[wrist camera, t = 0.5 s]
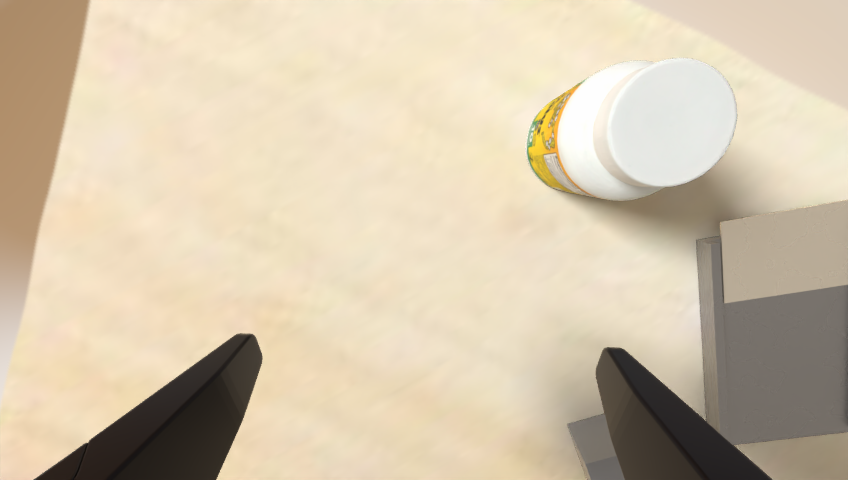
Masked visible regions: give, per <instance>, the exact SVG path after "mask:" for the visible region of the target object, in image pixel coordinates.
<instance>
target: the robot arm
mask: <svg viewBox="0 0 848 480" xmlns="http://www.w3.org/2000/svg"><path fill="white" fill-rule="evenodd" d="M261 364H262V353H261V350H260V347H259V345H258V342H257V339H256V337H255V336H254V335H253V334H243V333H240V334H236V335H235V336H233V337H232V338H230V339H229V340H228V341H226V342H225V343H224V344H222V345H221V346H219V347H218V348H217V349H215V350H214V351H212V352H211V353H210V354H208V355H207V356H206V357H204V358H203V359H201V360H200V361H199V362H197V363H196V364H194V365H193V366H192V367H190V368H189V369H187V370H186V371H185V372H183V373H182V374H181V375H179V376H178V377H176V378H175V379H174V380H172V381H171V382H169V383H168V384H167V385H165V386H164V387H163V388H161V389H160V390H158V391H157V392H156V393H154V394H153V395H151V396H150V397H149V398H147V399H146V400H145V401H143V402H142V403H140V404H139V405H138V406H136V407H135V408H133V409H132V410H131V411H129V412H128V413H126V414H125V415H124V416H122V417H121V418H120V419H118V420H117V421H115V422H114V423H113V424H111V425H110V426H108V427H107V428H106V429H104V430H103V431H102V432H100V433H99V434H97V435H96V436H95V437H93V438H92V439H90V440H89V442H88V443H85V444H83V445H82V446H81V447H79V448H78V449H76V450H75V451H74V452H72V453H71V454H69V455H68V456H67V457H65V458H64V459H62V460H61V461H60V462H58V463H57V464H55V465H54V466H52V467H51V468H50V469H48V470H47V471H45V472H44V473H42V474H41V475H40V476H38V477H37V478H35V479H34V480H216V479H217V477H218V474H219V472H220V470H221V468H222V465H223V463H224V461H225V459H226V457H227V454H228V452H229V450H230V448H231V445H232V443H233V441H234V439H235V436H236V434H237V432H238V430H239V427H240V425H241V423H242V420H243V418H244V415H245V412H246V409H247V406H248V403H249V400H250V397H251V394H252V391H253V388H254V385H255V382H256V379H257V376H258V373H259V370H260V367H261ZM596 379H597V384H598V388H599V392H600V396H601V400H602V405H603V409H604V413H605V417H606V422H607V426H608V430H609V434H610V438H611V441H612V444H613V447H614V450H615V453H616V456H617V459H618V462H619V465H620V467H621V470H622V473H623V476H624V479H625V480H772V479H771V478H770V477H769V476H768V475H767V474H766V473H764V472H763V471H762V470H761V469H760V468H759V467H758V466H756V465H755V464H754V463H753V462H752V461H751V460H750V459H748V458H747V457H746V456H745V455H744V454H743V453H742V452H740V451H739V450H738V449H737V448H736V447H735V446H734V445H732V444H731V443H730V442H729V441H728V440H727V439H726V438H725V437H723V436H722V435H721V434H720V433H719V432H718V431H717V430H715V429H714V428H713V427H712V426H711V425H710V424H709V423H707V422H706V421H705V420H704V419H703V418H702V417H701V416H699V415H698V414H697V413H696V412H695V411H694V410H693V409H691V408H690V407H689V406H688V405H687V404H686V403H685V402H683V401H682V400H681V399H680V398H679V397H678V396H677V395H676V394H674V393H673V392H672V391H671V390H670V389H669V388H668V387H666V386H665V385H664V384H663V383H662V382H661V381H660V380H658V379H657V378H656V377H655V376H654V375H653V374H652V373H650V372H649V371H648V370H647V369H646V368H645V367H644V366H642V365H641V364H640V363H639V362H638V361H637V360H636V359H634V358H633V357H632V356H631V355H630V354H629V353H628V352H627V351H625V350H624V349H622V348H614V347H606V348H604V349H603V351H602V354H601V356H600V359H599V362H598V365H597V367H596Z"/></svg>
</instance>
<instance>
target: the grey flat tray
mask: <svg viewBox="0 0 848 480" xmlns="http://www.w3.org/2000/svg"><path fill="white" fill-rule="evenodd" d="M696 244H697V261H698V279H699V296H700V314H701V332H702V349H703V367H704V384H705V402H706V419H707V423H709V424H710V425H711V426H712V427H713V428H714V429H715V430H717V431H718V432H719V433H720V434H721V435H722V436H723V437H725V438H726V439H727V440H728V441H729V442H730V443H731V444H732V445H737V444H746V443H755V442H764V441H772V440H781V439H790V438H799V437H807V436H816V435H825V434H834V433H843V432H848V200H842V201H836V202H831V203H825V204H819V205H813V206H808V207H802V208H796V209H790V210H785V211H779V212H773V213H768V214H762V215H756V216H750V217H745V218H739V219H733V220H727V221H722V222H720V236H717V237H711V238H705V239H699V240H696Z"/></svg>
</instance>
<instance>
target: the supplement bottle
mask: <svg viewBox="0 0 848 480" xmlns="http://www.w3.org/2000/svg"><path fill="white" fill-rule="evenodd" d="M736 122H737V105H736V101H735V96H734V94H733V90H732V88H731V87H730V85H729V83H728V81H727V80H726V79H725V78H724V76H723V75H722V74H721V73H720V72H719V71H717V70H716V69H715V68H713V67H712V66H710V65H708V64H706V63H704V62H702V61H699V60H695V59H690V58H672V59H666V60H662V61H659V62H656V63H655V62H651V61H627V62H622V63H618V64H614V65H612V66H609V67H607V68H605V69H603V70H601V71H599V72H597V73H595V74H594V75H592V76H590V77H588V78H587V79H585V80H584V81H582V82H580V83H579V84H577V85H576V86H574V87H573V88H572V89H570V90H568V91H567V92H565V93H563V94H562V95H560V96H559V97H557V98H556V99H554V100H552V101H551V102H549V103H548V104H547V105H546V106H544V107H543V108H542V109H541V110H540V111H539V112H538V114H537V115H536V116H535V118H534V119H533V121H532V123H531V125H530V128H529V131H528V135H527V139H526V148H525V150H526V158H527V161H528V164H529V166H530V168H531V170H532V172H533V173H534V174H535V176H536V177H537V178H538V179H539V180H540V181H542V182H543V183H544V184H546V185H547V186H550V187H552V188H554V189H557V190H561V191H565V192H570V193H575V194H580V195H585V196H590V197H595V198H600V199H606V200H615V201H626V200H634V199H639V198H643V197H646V196H648V195H651V194H653V193H655V192H657V191H659V190H661V189H663V188H664V187H674V186H678V185H681V184H685V183H688V182H690V181H692V180H695V179H696V178H698V177H700V176H702V175H703V174H704V173H706V172H707V171H708V170H710V169H711V168H712V167H713V166H714V165H715V164H716V163H717V162H718V161H719V160H720V159H721V157H722V156H723V155H724V153H725V152H726V150H727V148H728V146H729V145H730V142H731V140H732V138H733V135H734V131H735V127H736Z"/></svg>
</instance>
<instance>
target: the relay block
mask: <svg viewBox="0 0 848 480" xmlns="http://www.w3.org/2000/svg"><path fill="white" fill-rule="evenodd" d="M567 426H568V428H569V431H570V434H571V437H572V439H573V442H574V445H575V448H576V450H577V453H578V456H579V459H580V462H581V464H582V467H583V470H584V473H585V475H586V478H587V480H625V479H624V476H623V473H622V470H621V467H620V465H619V462H618V459H617V456H616V453H615V450H614V447H613V444H612V441H611V438H610V434H609V430H608V426H607V422H606V417H605V414H601V415H598V416H594V417H591V418H587V419H583V420H580V421H576V422H573V423H569V424H567Z"/></svg>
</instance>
